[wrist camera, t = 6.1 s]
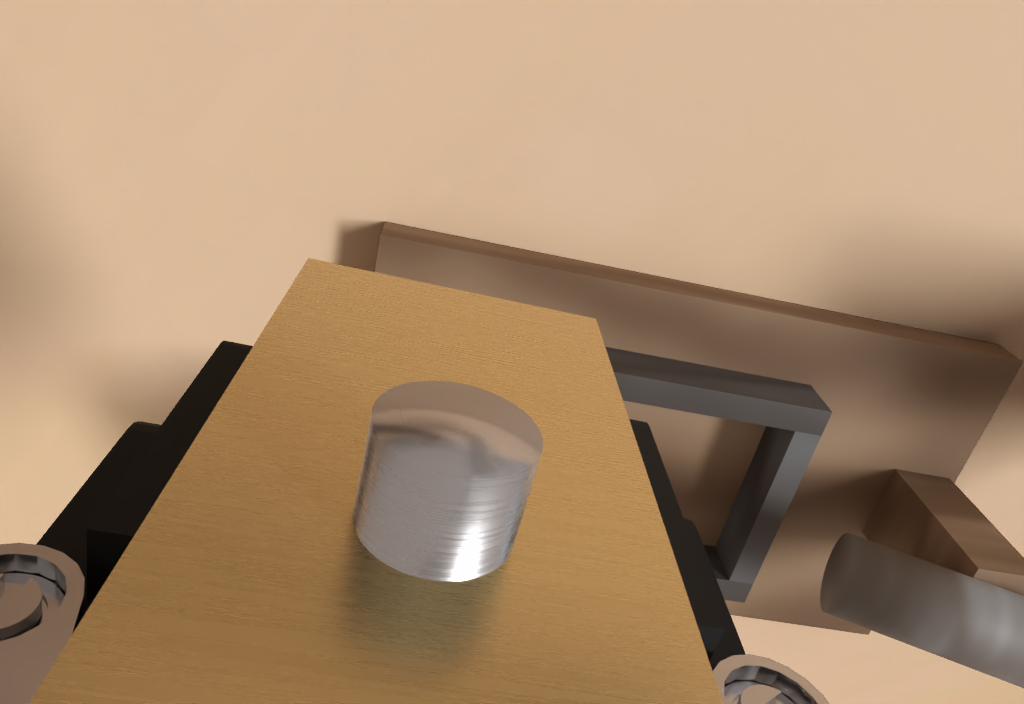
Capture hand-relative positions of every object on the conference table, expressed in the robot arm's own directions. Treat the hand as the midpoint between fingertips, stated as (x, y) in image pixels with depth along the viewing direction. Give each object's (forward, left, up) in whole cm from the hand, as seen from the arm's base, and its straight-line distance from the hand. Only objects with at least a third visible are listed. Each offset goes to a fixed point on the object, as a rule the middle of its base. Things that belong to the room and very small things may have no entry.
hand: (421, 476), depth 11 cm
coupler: (0, 0, -2) cm, 2 cm away
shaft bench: (+9, +10, -17) cm, 22 cm away
